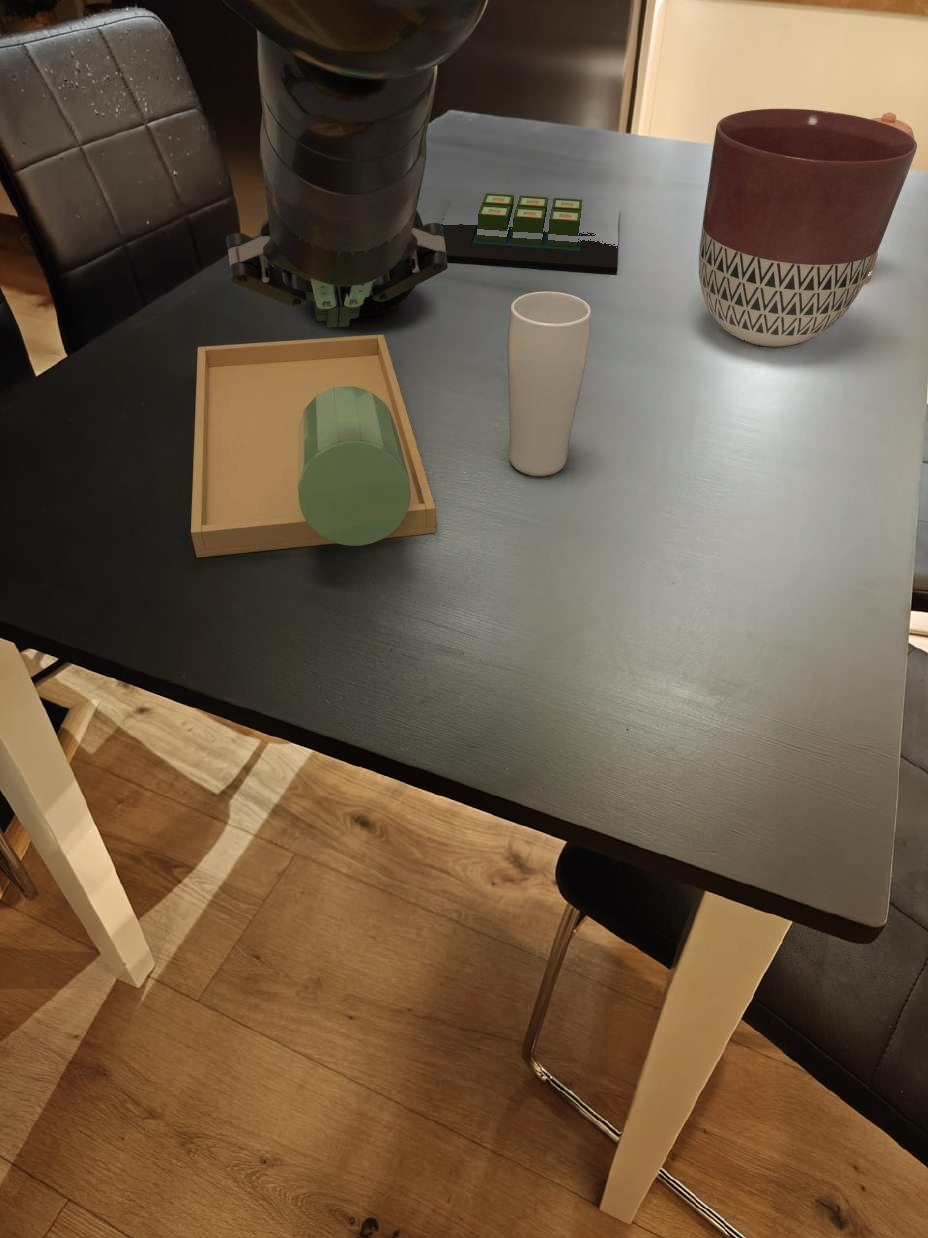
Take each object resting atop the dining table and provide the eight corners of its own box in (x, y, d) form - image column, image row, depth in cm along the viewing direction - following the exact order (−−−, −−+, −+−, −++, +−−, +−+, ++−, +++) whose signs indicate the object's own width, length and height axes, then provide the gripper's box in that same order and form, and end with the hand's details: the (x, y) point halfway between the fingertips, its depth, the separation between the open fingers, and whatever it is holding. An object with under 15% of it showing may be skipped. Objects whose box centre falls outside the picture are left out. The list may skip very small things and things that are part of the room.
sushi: (619, 210, 136) (622, 184, 133) (616, 274, 118) (620, 245, 115) (454, 199, 138) (455, 173, 136) (427, 260, 120) (427, 231, 117)
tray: (196, 558, 73) (190, 532, 71) (202, 369, 96) (197, 346, 95) (435, 533, 76) (435, 507, 74) (384, 356, 99) (383, 333, 98)
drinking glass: (586, 475, 83) (607, 318, 73) (519, 489, 81) (530, 330, 71) (554, 438, 87) (569, 285, 77) (489, 451, 85) (496, 296, 75)
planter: (821, 392, 95) (890, 175, 81) (651, 344, 103) (687, 137, 88) (869, 326, 108) (936, 128, 93) (714, 288, 115) (754, 98, 101)
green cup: (292, 447, 63) (293, 389, 74) (304, 550, 68) (304, 481, 79) (408, 439, 64) (392, 383, 75) (413, 541, 69) (398, 474, 80)
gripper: (210, 257, 42) (242, 375, 59) (488, 241, 44) (441, 360, 61) (191, 100, 42) (228, 263, 59) (468, 91, 44) (426, 251, 61)
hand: (336, 312), depth 60 cm, fingers closed
